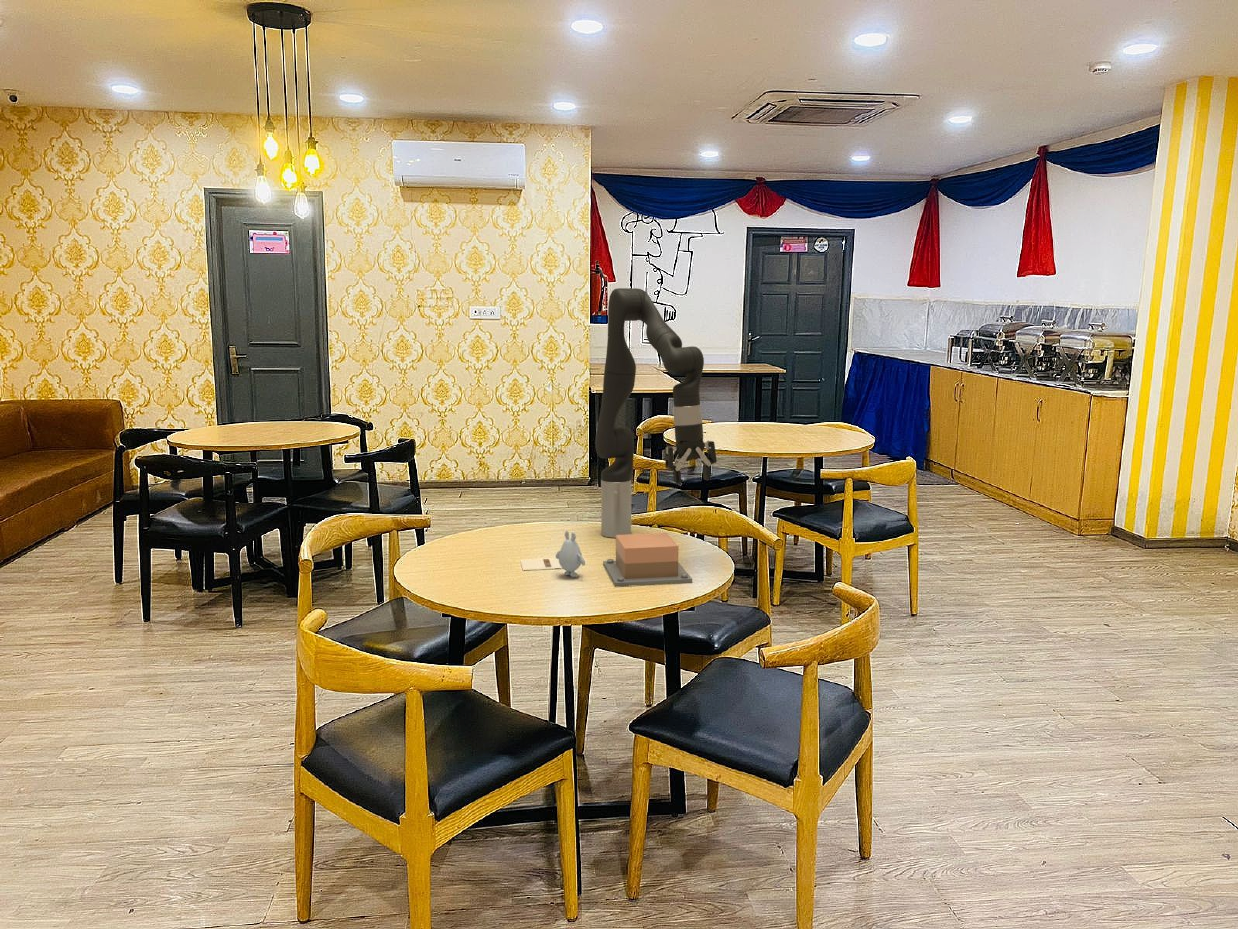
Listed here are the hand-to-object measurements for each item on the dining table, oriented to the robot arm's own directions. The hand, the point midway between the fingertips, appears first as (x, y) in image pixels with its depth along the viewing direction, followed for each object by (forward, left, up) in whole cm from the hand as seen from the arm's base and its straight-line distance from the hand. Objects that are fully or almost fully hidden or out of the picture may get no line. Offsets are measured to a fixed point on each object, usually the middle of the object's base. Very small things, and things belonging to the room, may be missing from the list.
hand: (692, 482), depth 248 cm
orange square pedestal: (+6, -14, -23) cm, 28 cm away
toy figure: (+5, -34, -23) cm, 41 cm away
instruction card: (-7, -39, -23) cm, 46 cm away
